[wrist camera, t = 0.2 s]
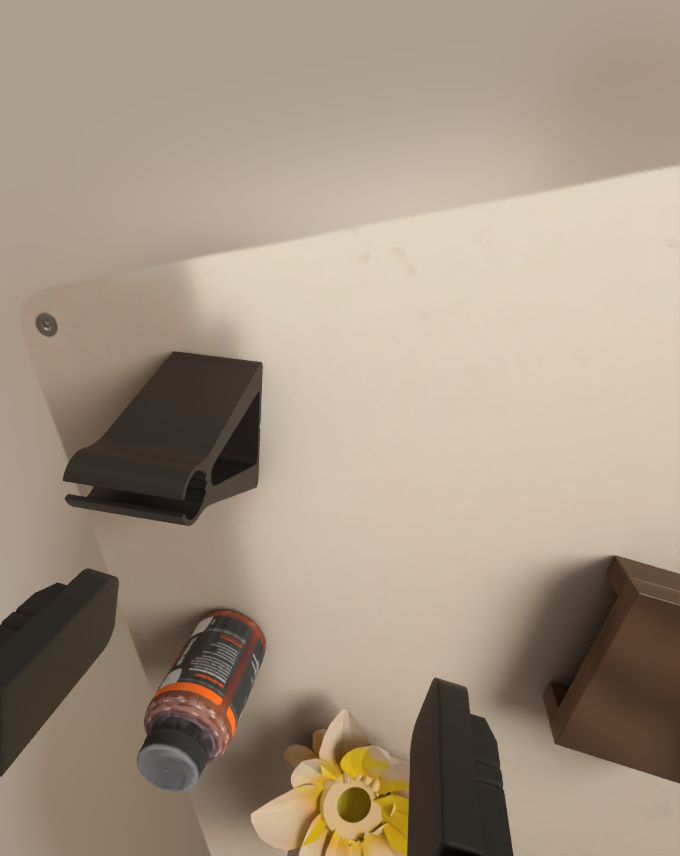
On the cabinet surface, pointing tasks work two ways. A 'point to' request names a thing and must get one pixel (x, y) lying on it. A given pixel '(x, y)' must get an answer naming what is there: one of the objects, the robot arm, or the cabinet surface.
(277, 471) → the cabinet surface
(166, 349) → the cabinet surface
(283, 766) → the cabinet surface
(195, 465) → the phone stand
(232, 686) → the supplement bottle
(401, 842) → the decorative flower
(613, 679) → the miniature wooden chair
